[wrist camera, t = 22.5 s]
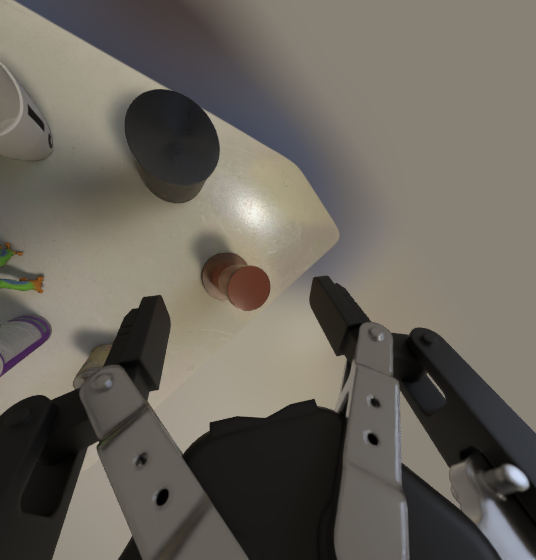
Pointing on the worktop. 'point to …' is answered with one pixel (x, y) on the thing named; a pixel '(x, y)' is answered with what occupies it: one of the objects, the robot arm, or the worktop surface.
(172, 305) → the worktop surface
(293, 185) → the worktop surface
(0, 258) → the toy
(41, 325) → the container
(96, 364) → the lighter
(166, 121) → the tin
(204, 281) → the disc
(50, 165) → the worktop surface
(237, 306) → the canister
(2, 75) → the cup
